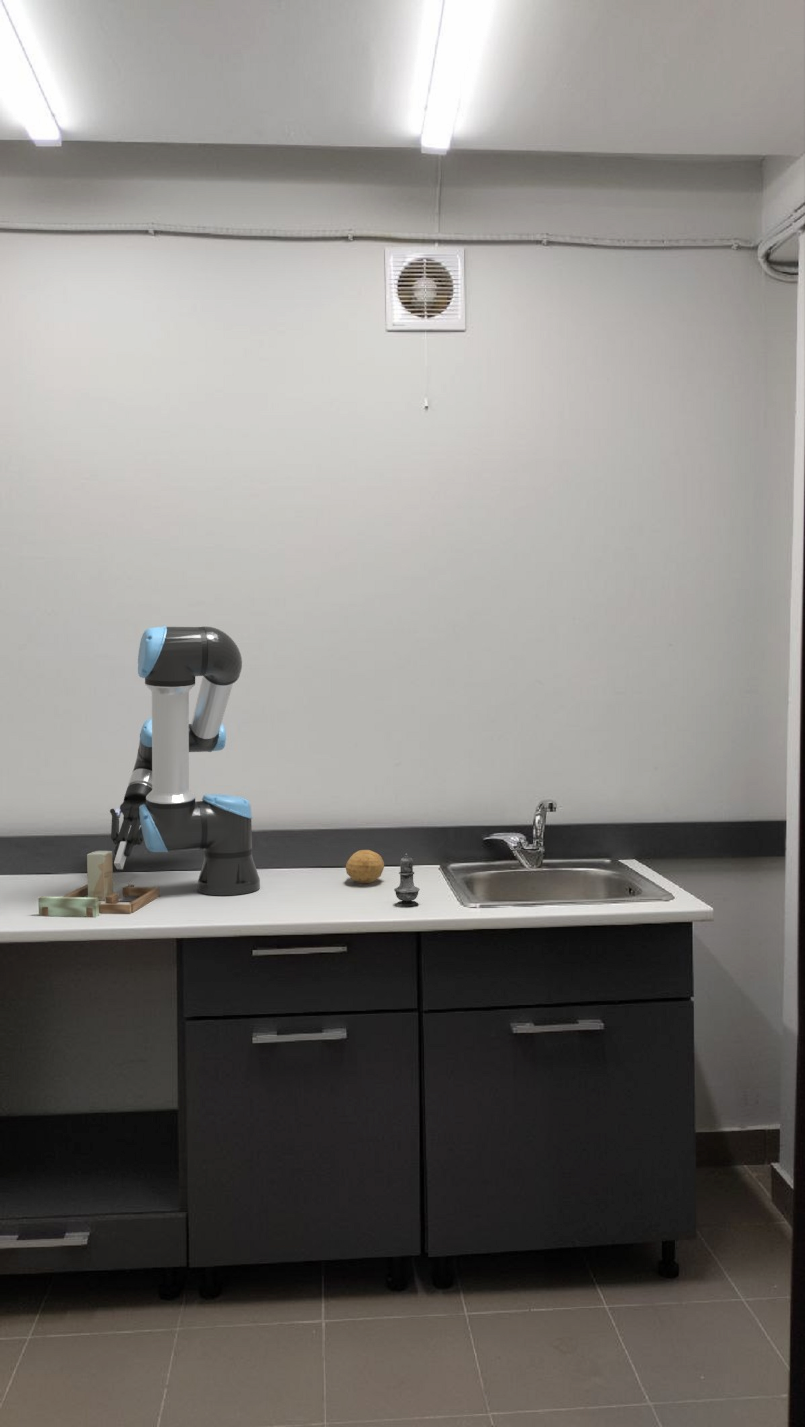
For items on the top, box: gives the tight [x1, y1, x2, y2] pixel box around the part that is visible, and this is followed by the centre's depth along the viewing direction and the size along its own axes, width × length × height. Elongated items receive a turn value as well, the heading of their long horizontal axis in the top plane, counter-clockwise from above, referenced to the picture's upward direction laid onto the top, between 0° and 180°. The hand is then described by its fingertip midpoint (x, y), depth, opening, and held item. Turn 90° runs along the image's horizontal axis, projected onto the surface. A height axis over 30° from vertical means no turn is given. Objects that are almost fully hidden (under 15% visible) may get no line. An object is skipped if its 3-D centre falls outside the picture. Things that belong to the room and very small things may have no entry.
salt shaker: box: [393, 852, 421, 908], centre depth 254 cm, size 6×6×12 cm
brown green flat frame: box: [37, 883, 160, 918], centre depth 258 cm, size 20×24×4 cm
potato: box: [345, 849, 385, 884], centre depth 278 cm, size 10×14×8 cm
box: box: [86, 850, 114, 901], centre depth 264 cm, size 5×4×11 cm
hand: (118, 866), depth 276 cm, fingers closed
